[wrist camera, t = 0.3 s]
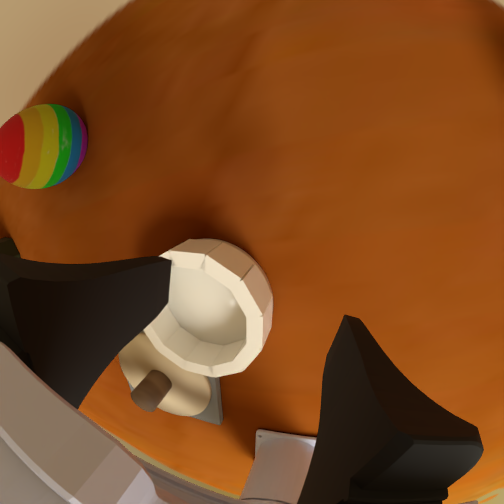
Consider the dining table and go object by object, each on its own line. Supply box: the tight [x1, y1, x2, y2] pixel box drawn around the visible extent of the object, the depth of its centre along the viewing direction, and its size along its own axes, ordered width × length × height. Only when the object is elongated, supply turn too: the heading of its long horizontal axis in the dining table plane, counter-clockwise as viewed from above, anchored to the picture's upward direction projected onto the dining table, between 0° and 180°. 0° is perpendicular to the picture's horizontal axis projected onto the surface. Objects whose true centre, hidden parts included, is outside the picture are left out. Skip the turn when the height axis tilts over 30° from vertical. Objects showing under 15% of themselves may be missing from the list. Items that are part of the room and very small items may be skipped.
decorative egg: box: [0, 104, 88, 189], centre depth 18 cm, size 8×8×10 cm
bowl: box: [144, 238, 274, 378], centre depth 21 cm, size 10×10×4 cm
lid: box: [119, 332, 212, 416], centre depth 25 cm, size 11×11×4 cm
